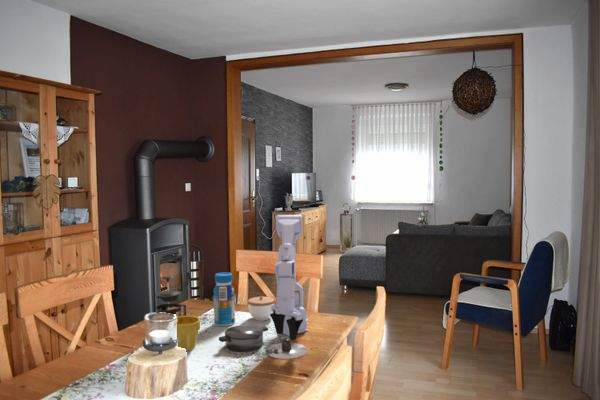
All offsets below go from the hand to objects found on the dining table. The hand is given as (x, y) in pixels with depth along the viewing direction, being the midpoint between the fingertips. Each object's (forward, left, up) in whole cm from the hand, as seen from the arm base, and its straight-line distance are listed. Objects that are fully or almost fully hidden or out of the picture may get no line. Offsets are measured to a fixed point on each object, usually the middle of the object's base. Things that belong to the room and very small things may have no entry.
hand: (286, 336), depth 167 cm
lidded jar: (-14, -36, -5) cm, 39 cm away
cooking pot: (+8, -14, -5) cm, 17 cm away
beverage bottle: (+1, -40, -5) cm, 40 cm away
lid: (0, 0, -5) cm, 5 cm away
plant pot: (+25, -25, -5) cm, 36 cm away
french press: (+25, -37, -5) cm, 45 cm away
